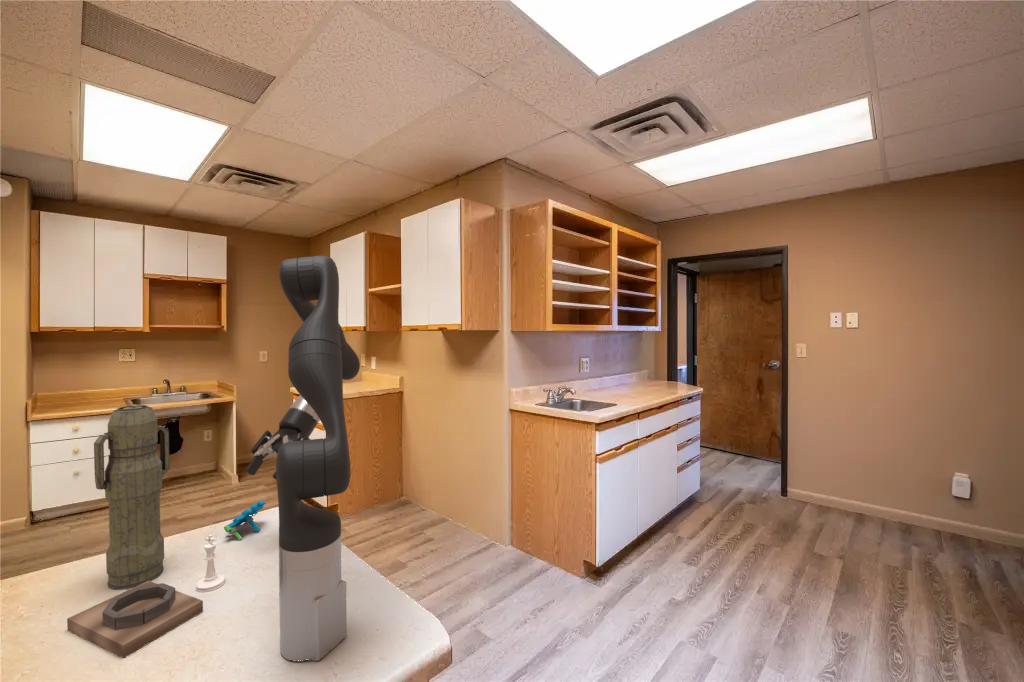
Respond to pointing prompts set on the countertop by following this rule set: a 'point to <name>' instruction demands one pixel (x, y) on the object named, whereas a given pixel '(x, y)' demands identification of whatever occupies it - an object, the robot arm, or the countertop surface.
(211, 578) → the chess piece
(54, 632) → the countertop surface
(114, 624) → the socket board
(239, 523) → the blue and green toy
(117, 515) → the thermos
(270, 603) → the countertop surface
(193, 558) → the countertop surface
